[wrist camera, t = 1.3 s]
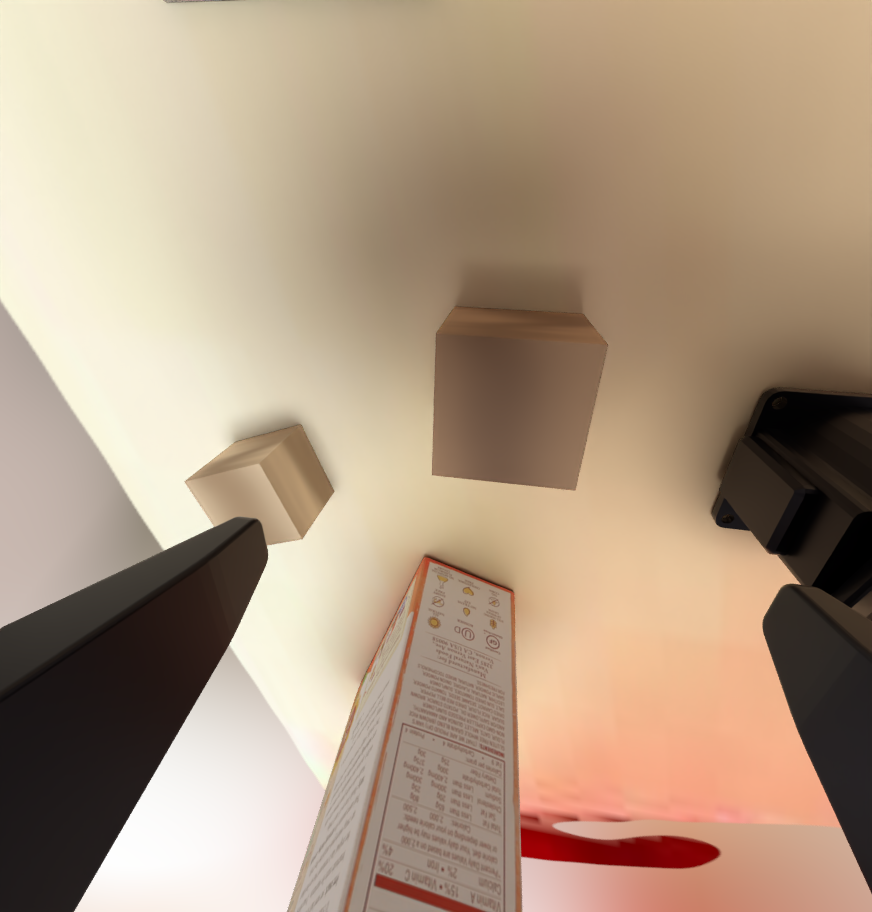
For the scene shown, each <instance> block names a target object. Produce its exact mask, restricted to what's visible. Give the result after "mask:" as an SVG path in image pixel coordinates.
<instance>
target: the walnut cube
mask: <svg viewBox="0 0 872 912" xmlns="http://www.w3.org/2000/svg"><path fill="white" fill-rule="evenodd" d="M607 347H608V344H607V343H606V342H605V340H604V339H603V338H602V337H601V336H600V334H599V333H598V332H597V331H596V329H595V328H594V327H593V326H592V324H591V323H590V322H589V321H588V319H587V318H586V317H585V316H584V314H577V313H560V312H543V311H525V310H508V309H491V308H473V307H456V306H455V307H454V309H453V310H452V311H451V313H450V314H449V316H448V317H447V319H446V320H445V321H444V323H443V324H442V326H441V327H440V329H439V330H438V331H437V333H436V354H435V388H434V422H433V456H432V475H436V476H445V477H454V478H464V479H473V480H482V481H492V482H501V483H510V484H520V485H529V486H538V487H548V488H557V489H566V490H576V485H577V481H578V476H579V472H580V467H581V463H582V458H583V454H584V450H585V445H586V441H587V436H588V432H589V427H590V423H591V418H592V414H593V409H594V405H595V400H596V396H597V391H598V387H599V383H600V378H601V374H602V369H603V365H604V360H605V356H606V351H607Z"/></svg>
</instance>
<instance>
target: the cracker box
mask: <svg viewBox="0 0 872 912" xmlns="http://www.w3.org/2000/svg"><path fill="white" fill-rule="evenodd" d="M521 880H522V879H521V838H520V799H519V760H518V720H517V682H516V644H515V604H514V593H513V592H512V591H510V590H507V589H505V588H502V587H500V586H497V585H494V584H492V583H489V582H487V581H484V580H482V579H480V578H477V577H475V576H472V575H470V574H467V573H464V572H462V571H460V570H457V569H455V568H452V567H450V566H447V565H445V564H442V563H440V562H437V561H435V560H432V559H430V558H427V557H424V558H423V560H422V562H421V564H420V566H419V568H418V570H417V572H416V574H415V576H414V578H413V580H412V582H411V584H410V586H409V588H408V590H407V592H406V594H405V596H404V598H403V600H402V602H401V604H400V606H399V608H398V610H397V612H396V614H395V616H394V618H393V620H392V622H391V624H390V626H389V628H388V630H387V632H386V634H385V636H384V638H383V640H382V642H381V644H380V646H379V648H378V650H377V652H376V654H375V656H374V658H373V660H372V662H371V664H370V666H369V668H368V670H367V672H366V674H365V676H364V679H363V681H362V683H361V684H360V687H359V689H358V692H357V695H356V697H355V700H354V703H353V706H352V709H351V713H350V716H349V719H348V722H347V725H346V728H345V731H344V734H343V738H342V741H341V744H340V747H339V750H338V753H337V756H336V759H335V763H334V766H333V769H332V772H331V775H330V778H329V781H328V785H327V788H326V791H325V795H324V797H323V800H322V804H321V807H320V810H319V813H318V816H317V819H316V823H315V826H314V829H313V832H312V835H311V838H310V841H309V845H308V848H307V851H306V854H305V857H304V860H303V863H302V867H301V870H300V873H299V876H298V879H297V882H296V885H295V888H294V892H293V895H292V898H291V901H290V904H289V907H288V910H287V912H522V881H521Z"/></svg>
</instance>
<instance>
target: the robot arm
mask: <svg viewBox="0 0 872 912" xmlns="http://www.w3.org/2000/svg"><path fill="white" fill-rule="evenodd" d="M779 397H782V398H781V401H780V402H779V403H778V404H777V405H774V406H772V402H773V401H774V400H775V399H777V398H779ZM719 491H720V492H721V493H720V495H719V497H718V500H717V502H716V505H715V507H714V509H713V512H712V518H713V520H714V521H715V523H716V524H717V525H718V526H720V527H723V528H730V529H739V530H748V531H751V532H752V533H753V535H754V536H755V537H756V538H757V540H758V541H759V542H760V543H761V545H762V546H763V547H764V549H765V550H766V551H767V552H768V553H769V554H774V555H778V557H779V558H780V559H781V560H782V562H783V563H784V564H785V565H786V566H787V568H788V569H789V570H790V571H791V573H792V574H793V575H794V576H795V578H796V579H797V580H798V581H799V583H800V584H801V585H798V584H786V585H784V586H783V587H781V589H780V590H779V592H778V594H777V595H776V597H775V599H774V600H773V602H772V604H771V606H770V607H769V609H768V611H767V613H766V614H765V616H764V619H763V633H764V636H765V639H766V642H767V645H768V648H769V651H770V654H771V656H772V659H773V662H774V665H775V668H776V671H777V674H778V677H779V680H780V683H781V685H782V688H783V691H784V694H785V697H786V700H787V703H788V706H789V709H790V712H791V714H792V717H793V720H794V722H795V725H796V727H797V730H798V732H799V735H800V737H801V739H802V742H803V744H804V746H805V749H806V751H807V753H808V755H809V757H810V760H811V762H812V764H813V766H814V768H815V771H816V773H817V775H818V777H819V779H820V781H821V784H822V786H823V788H824V790H825V792H826V795H827V797H828V799H829V801H830V803H831V806H832V808H833V810H834V812H835V814H836V817H837V819H838V821H839V823H840V825H841V827H842V830H843V832H844V834H845V836H846V838H847V841H848V843H849V844H850V847H851V849H852V852H853V854H854V856H855V858H856V860H857V863H858V865H859V867H860V869H861V871H862V873H863V875H864V878H865V880H866V882H867V884H868V886H869V889H870V891H871V893H872V394H860V393H847V392H833V391H820V390H806V389H793V388H780V387H779V388H772V389H770V390H768V391H766V392H765V393H764V394H763V395H762V397H761V398H760V400H759V403H758V405H757V407H756V410H755V412H754V414H753V417H752V419H751V422H750V424H749V426H748V429H747V431H746V433H745V436H744V437H743V438H742V439H741V440H740V441H739V442H738V445H737V447H736V449H735V452H734V454H733V457H732V459H731V461H730V464H729V466H728V468H727V471H726V473H725V476H724V478H723V480H722V483H721V485H720V488H719ZM726 514H730V515H729V516H728V517H726V518H722V517H723V516H724V515H726ZM267 560H268V549H267V545H266V540H265V535H264V531H263V526H262V523H261V522H260V520H258V519H256V518H250V517H242V516H239V517H235V518H232V519H230V520H228V521H226V522H224V523H222V524H220V525H218V526H215V527H213V528H211V529H209V530H207V531H205V532H203V533H201V534H199V535H196V536H194V537H192V538H190V539H188V540H186V541H184V542H182V543H179V544H177V545H175V546H173V547H171V548H169V549H167V550H165V551H163V552H160V553H159V554H156V555H154V556H152V557H150V558H148V559H146V560H143V561H141V562H139V563H137V564H135V565H133V566H131V567H129V568H127V569H124V570H122V571H120V572H118V573H116V574H114V575H112V576H110V577H108V578H105V579H103V580H101V581H99V582H97V583H95V584H93V585H91V586H89V587H87V588H84V589H82V590H80V591H78V592H76V593H74V594H72V595H69V596H67V597H65V598H63V599H61V600H59V601H57V602H55V603H52V604H50V605H48V606H46V607H44V608H42V609H40V610H38V611H36V612H34V613H31V614H29V615H27V616H25V617H23V618H21V619H19V620H17V621H14V622H12V623H10V624H8V625H6V626H4V627H2V628H1V629H0V912H74V911H75V909H76V907H77V906H78V904H79V902H80V900H81V899H82V897H83V895H84V893H85V892H86V890H87V888H88V886H89V885H90V883H91V881H92V880H93V878H94V876H95V875H96V873H97V871H98V869H99V868H100V866H101V864H102V862H103V861H104V859H105V857H106V856H107V854H108V852H109V850H110V849H111V847H112V845H113V844H114V842H115V840H116V838H117V837H118V835H119V833H120V831H121V830H122V828H123V826H124V825H125V823H126V821H127V820H128V818H129V816H130V814H131V813H132V811H133V809H134V807H135V806H136V804H137V802H138V800H139V799H140V797H141V795H142V794H143V792H144V790H145V789H146V787H147V785H148V783H149V782H150V780H151V778H152V777H153V775H154V773H155V771H156V770H157V768H158V766H159V765H160V763H161V761H162V759H163V757H164V756H165V754H166V753H167V751H168V749H169V747H170V746H171V744H172V742H173V740H174V739H175V737H176V735H177V734H178V732H179V730H180V728H181V727H182V725H183V723H184V722H185V720H186V718H187V716H188V715H189V713H190V711H191V710H192V708H193V706H194V704H195V703H196V701H197V699H198V697H199V696H200V694H201V692H202V690H203V689H204V687H205V685H206V683H207V682H208V680H209V679H210V677H211V675H212V673H213V672H214V670H215V668H216V667H217V665H218V663H219V661H220V660H221V658H222V656H223V655H224V653H225V651H226V649H227V647H228V646H229V644H230V642H231V640H232V638H233V636H234V634H235V632H236V630H237V628H238V626H239V624H240V622H241V619H242V617H243V615H244V613H245V611H246V608H247V606H248V604H249V602H250V600H251V597H252V595H253V593H254V591H255V589H256V586H257V584H258V582H259V580H260V578H261V575H262V573H263V571H264V569H265V566H266V564H267Z"/></svg>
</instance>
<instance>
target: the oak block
mask: <svg viewBox="0 0 872 912" xmlns="http://www.w3.org/2000/svg"><path fill="white" fill-rule="evenodd" d="M184 482H185V483H186V485H187V486H188V488H189V489H190V491H191V492H192V494H193V495H194V497H195V498H196V500H197V501H198V503H199V504H200V506H201V507H202V509H203V510H204V512H205V513H206V515H207V516H208V518H209V519H210V521H211V522H212V524H213V525H214V527H215V526H218V525H220V524H222V523H224V522H226V521H228V520H230V519H232V518H235V517H239V516H242V517H250V518H256V519H258V520H260V522H261V523H262V526H263V531H264V535H265V540H266V545H272V544H277V543H283V542H289V541H295V540H300V539H303V537H304V536H305V534H306V533H307V531H308V530H309V528H310V527H311V525H312V524H313V522H314V521H315V519H316V518H317V516H318V515H319V513H320V512H321V510H322V509H323V507H324V506H325V505H326V503H327V502H328V500H329V499H330V497H331V496H332V494H333V493H334V490H333V488H332V486H331V484H330V482H329V480H328V478H327V476H326V474H325V472H324V470H323V468H322V466H321V464H320V462H319V460H318V458H317V456H316V454H315V452H314V450H313V448H312V446H311V444H310V442H309V440H308V438H307V436H306V434H305V431H304V429H303V427H302V425H297V426H293V427H289V428H286V429H282V430H278V431H274V432H271V433H267V434H263V435H259V436H255V437H252V438H248V439H244V440H240V441H237V442H234V443H233V444H232V445H231V446H229V447H228V448H227V449H226V450H224V451H223V452H222V453H220V454H219V455H218V456H217V457H215V458H214V459H213V460H211V461H210V462H209V463H208V464H206V465H205V466H204V467H202V468H201V469H200V470H199V471H197V472H196V473H195V474H193V475H192V476H191V477H190V478H188V479H187V480H186V481H184Z"/></svg>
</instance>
